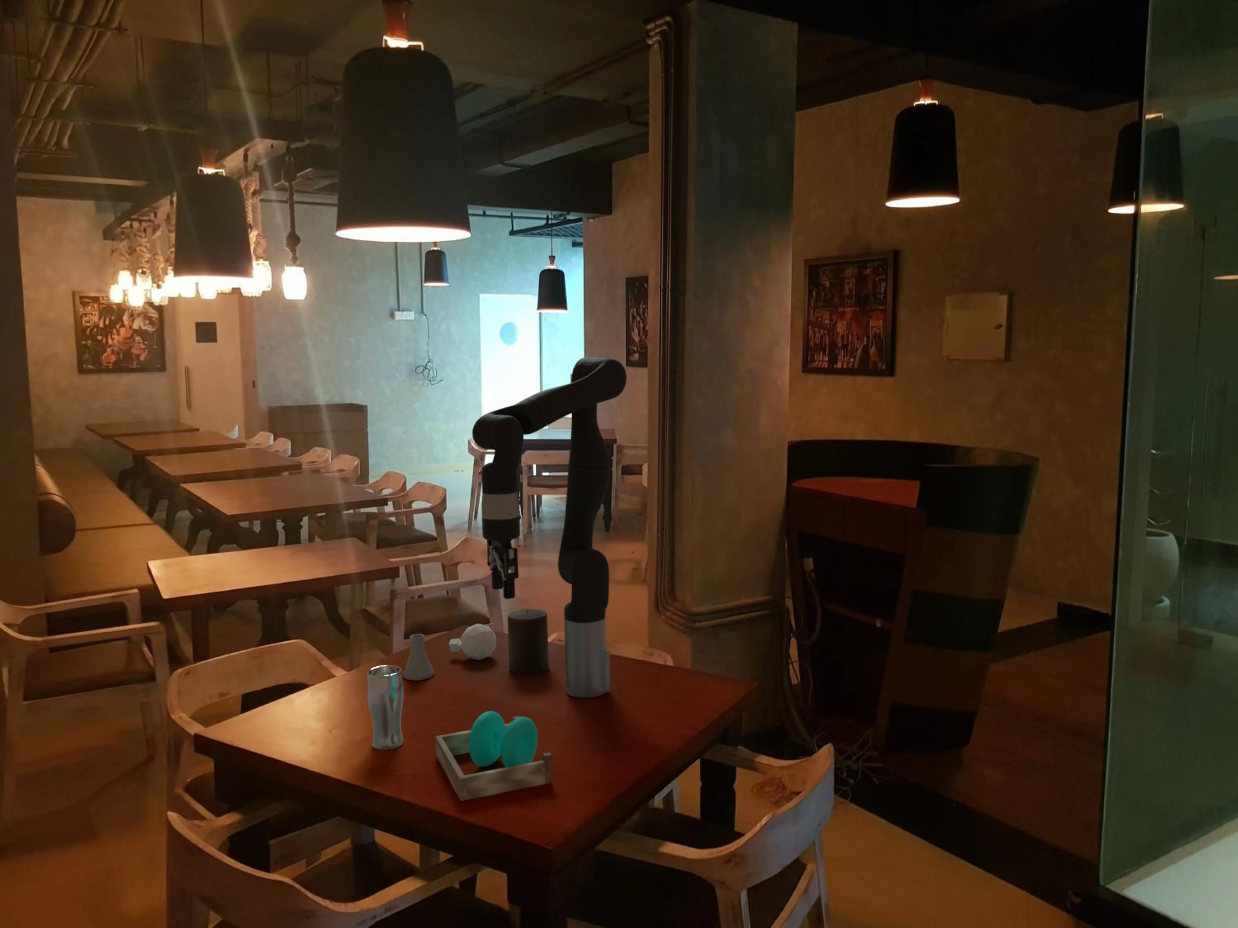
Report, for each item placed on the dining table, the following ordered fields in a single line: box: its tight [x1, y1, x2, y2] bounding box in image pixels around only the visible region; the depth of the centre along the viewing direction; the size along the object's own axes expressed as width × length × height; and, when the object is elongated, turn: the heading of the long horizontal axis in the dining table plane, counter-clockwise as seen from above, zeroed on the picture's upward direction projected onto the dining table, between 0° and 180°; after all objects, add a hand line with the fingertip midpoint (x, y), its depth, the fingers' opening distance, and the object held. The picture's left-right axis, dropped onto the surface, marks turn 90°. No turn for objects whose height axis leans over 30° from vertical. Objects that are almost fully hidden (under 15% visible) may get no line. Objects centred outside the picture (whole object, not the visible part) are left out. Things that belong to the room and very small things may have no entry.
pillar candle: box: [507, 608, 550, 675], centre depth 229 cm, size 10×10×15 cm
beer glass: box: [366, 664, 404, 751], centre depth 186 cm, size 7×7×15 cm
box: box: [435, 715, 553, 802], centre depth 174 cm, size 16×20×5 cm
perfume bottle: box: [448, 623, 497, 661], centre depth 238 cm, size 9×9×12 cm
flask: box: [402, 633, 436, 682], centre depth 225 cm, size 7×7×10 cm
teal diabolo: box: [468, 710, 539, 768], centre depth 174 cm, size 10×10×10 cm
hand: (503, 593), depth 191 cm, fingers open, 8 cm apart
